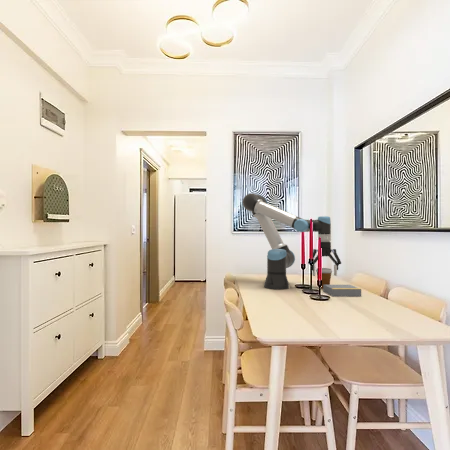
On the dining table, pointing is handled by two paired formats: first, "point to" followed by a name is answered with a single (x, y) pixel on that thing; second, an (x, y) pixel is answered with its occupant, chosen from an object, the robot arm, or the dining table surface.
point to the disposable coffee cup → (325, 276)
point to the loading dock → (342, 290)
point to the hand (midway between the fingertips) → (324, 275)
